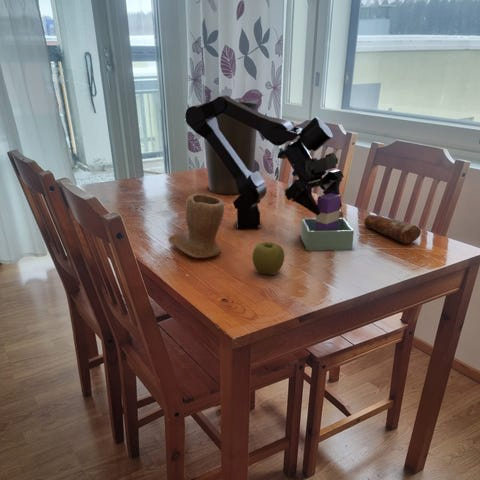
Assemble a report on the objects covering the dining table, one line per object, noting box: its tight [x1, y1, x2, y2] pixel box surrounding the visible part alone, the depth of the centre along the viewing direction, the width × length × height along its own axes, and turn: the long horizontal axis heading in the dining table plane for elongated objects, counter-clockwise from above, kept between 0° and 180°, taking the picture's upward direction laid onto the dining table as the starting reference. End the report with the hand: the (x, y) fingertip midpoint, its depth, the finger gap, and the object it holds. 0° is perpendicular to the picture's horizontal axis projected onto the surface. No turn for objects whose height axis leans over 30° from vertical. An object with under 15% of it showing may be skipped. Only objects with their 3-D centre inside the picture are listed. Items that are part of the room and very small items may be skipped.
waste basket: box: [199, 101, 260, 195], centre depth 176 cm, size 27×20×30 cm
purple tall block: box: [315, 193, 342, 231], centre depth 129 cm, size 4×5×12 cm, turn 132°
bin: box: [300, 217, 355, 251], centre depth 131 cm, size 12×11×5 cm
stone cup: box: [168, 193, 225, 259], centre depth 123 cm, size 15×12×15 cm
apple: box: [251, 241, 285, 276], centre depth 113 cm, size 8×8×7 cm
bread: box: [363, 214, 422, 244], centre depth 136 cm, size 6×19×6 cm, turn 25°
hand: (329, 210), depth 127 cm, fingers open, 9 cm apart
